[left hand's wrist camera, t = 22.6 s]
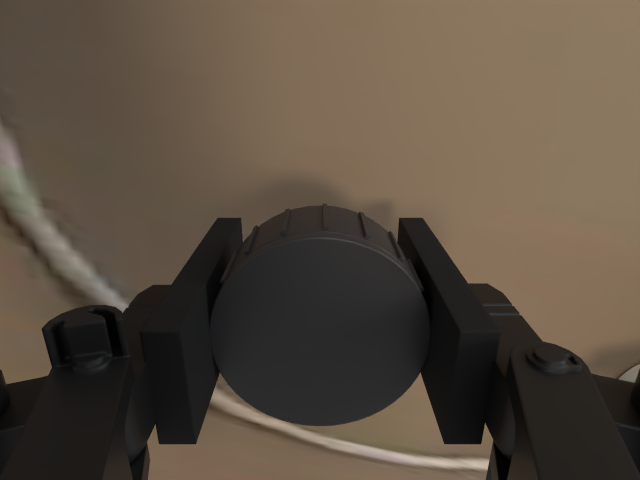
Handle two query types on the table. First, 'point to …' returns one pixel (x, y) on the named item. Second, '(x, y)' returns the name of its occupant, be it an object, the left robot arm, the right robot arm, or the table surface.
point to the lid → (320, 318)
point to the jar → (630, 374)
